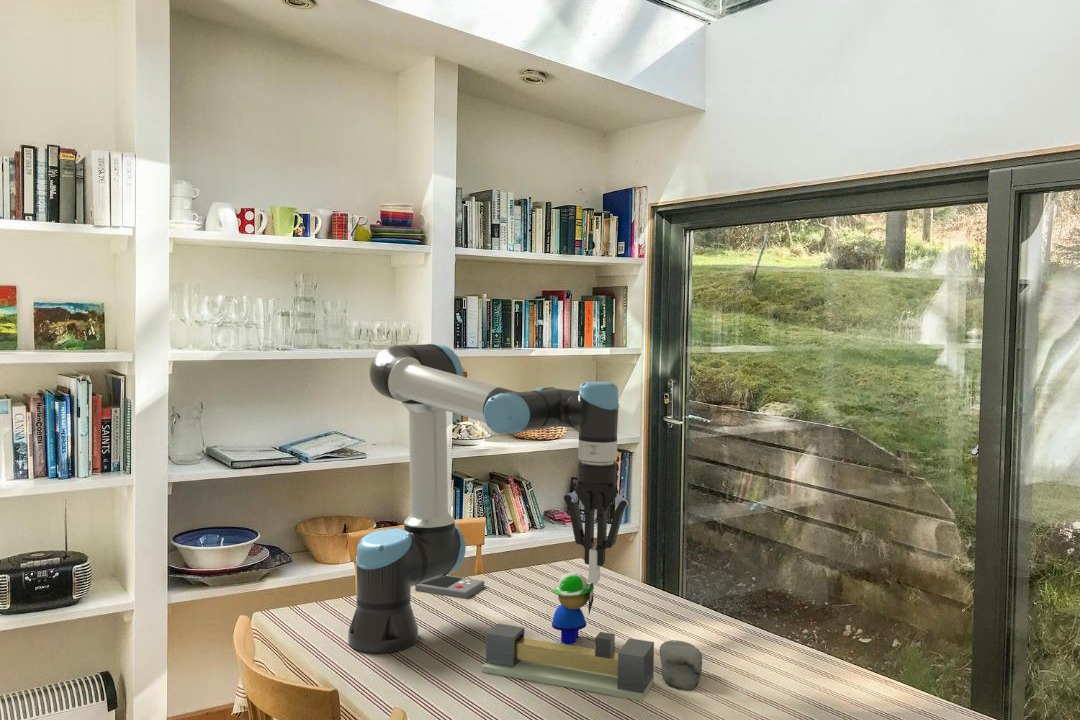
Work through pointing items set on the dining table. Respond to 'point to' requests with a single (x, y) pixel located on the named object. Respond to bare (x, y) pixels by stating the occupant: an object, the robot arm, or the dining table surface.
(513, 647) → the guide sleeve
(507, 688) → the dining table surface
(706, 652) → the dining table surface
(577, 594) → the toy
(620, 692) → the base plank
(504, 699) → the dining table surface
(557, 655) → the sliding bolt
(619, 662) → the socket block
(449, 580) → the electronic device
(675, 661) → the stone
